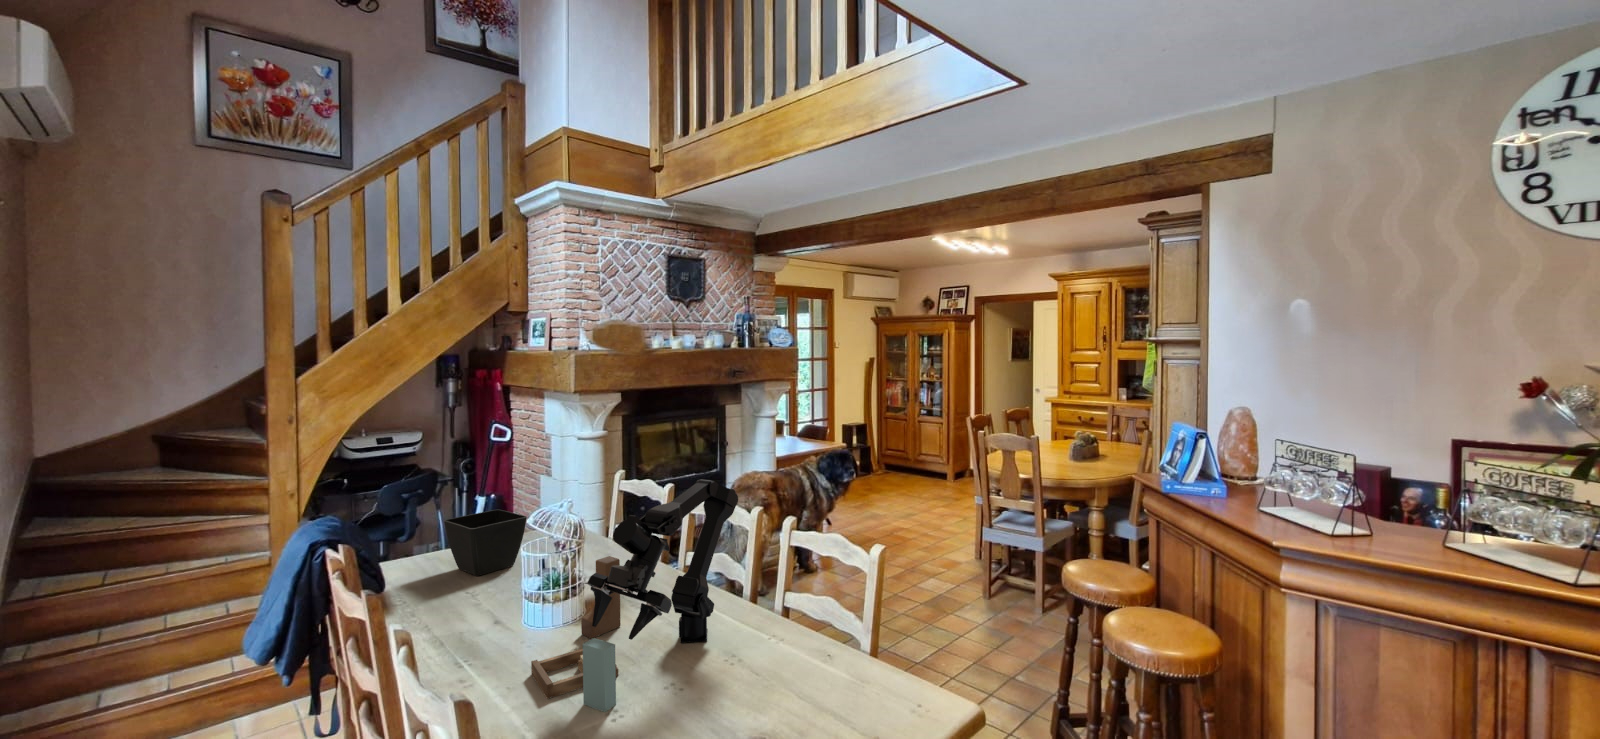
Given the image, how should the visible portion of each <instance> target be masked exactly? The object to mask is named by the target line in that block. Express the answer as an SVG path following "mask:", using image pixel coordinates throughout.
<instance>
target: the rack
mask: <svg viewBox="0 0 1600 739" xmlns="http://www.w3.org/2000/svg"><path fill="white" fill-rule="evenodd" d="M580 655H583V647H582V648H579V649H576V650H575V649H574V650H573V651H569V652H566V653H563V654H559V655H556V656H552V657H549V658H545V659H542V660H538V659H535V660H534V659H533V660H531V661H530V663H531V664H530V665H531V666H530V668H531V669H530V670H531V676H532V677H534V678H533V679H534V680H536V681H535V682H536V684H537V685H538V687H539V689H540V688H541V689H540V690H541V691H543V692H542V693H543V695H544V694H545V695H544V696H545V698H546V697H547V698H546V700H549V699H551V698H550V697H552V698H555V697H558V696H561V695H564V694H567V693H570V692H572V691H575V690H578V689H582V688H583V673H582V672H580V673H578V674H575V675H572V676H568V677H566V678H563V679H559V680H556V681H554V682H553V681H552V679H551V678H550V677H549V674H548V673H549V672H550V673H551V672H553V671H557V670H559V669H562V668H566V667H569V666H572V665H576V664H578V661H579V660H580ZM618 676H619V667H617V664H616V677H618ZM548 698H549V699H548Z"/></svg>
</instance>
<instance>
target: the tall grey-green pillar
mask: <svg viewBox="0 0 1600 739" xmlns="http://www.w3.org/2000/svg"><path fill="white" fill-rule="evenodd" d="M582 648H583V687H582V688H583V694H582V696H583V705H585V706H587V707H589V708H593V709H595V710H598V711H600V712H604V713H606V712H607V711H609V710H610V709H612V708H613V707H615V706H616V705H617V684H616V682H617V681H616V680H617V678H616V677H617V676H616V665H617V664H616V643H613V642H609V641H605V640H602V639H598V638H597V637H595V638H593V639H591V638H590V639H589V640H588V641H586V642H583V643H582Z"/></svg>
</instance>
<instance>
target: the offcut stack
mask: <svg viewBox="0 0 1600 739" xmlns="http://www.w3.org/2000/svg"><path fill="white" fill-rule="evenodd" d="M577 669H578V670H579V671H580V673H583V655H580V660H579V661H578V663H577Z"/></svg>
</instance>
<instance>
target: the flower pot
mask: <svg viewBox="0 0 1600 739" xmlns="http://www.w3.org/2000/svg"><path fill="white" fill-rule="evenodd" d="M527 518H528V517H527V516H526V515H522V514H519V513H515V512H513V511H512V512H511V511H508V510H507V511H506V510H502V509H493V510H492V509H491V510H487V511H482V512H477V513H471V514H468V515H467V514H466V515H462V516H457V517H452V518H451V517H450V518H447V519H444V520H443V523H444V529H445V533H446V538H447V541H448V545H449V548H450V550H451V554H452V557H453V559H454V561H455V564H456V566H457V568H458V570H461V571H463V572H465V573H468V574H471V575H473V576H476V577H477V576H482V575H486V574H490V573H494V572H496V571H499V570H500V571H501V570H503V569H506V568H511V567H513V566H514V565H515V563H516V560H517V558H518V555H519V552H520V549H521V545H522V542H523V538H524V535H525V531H526V523H527Z"/></svg>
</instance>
